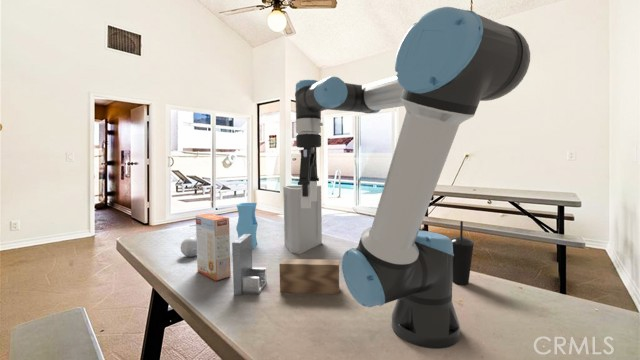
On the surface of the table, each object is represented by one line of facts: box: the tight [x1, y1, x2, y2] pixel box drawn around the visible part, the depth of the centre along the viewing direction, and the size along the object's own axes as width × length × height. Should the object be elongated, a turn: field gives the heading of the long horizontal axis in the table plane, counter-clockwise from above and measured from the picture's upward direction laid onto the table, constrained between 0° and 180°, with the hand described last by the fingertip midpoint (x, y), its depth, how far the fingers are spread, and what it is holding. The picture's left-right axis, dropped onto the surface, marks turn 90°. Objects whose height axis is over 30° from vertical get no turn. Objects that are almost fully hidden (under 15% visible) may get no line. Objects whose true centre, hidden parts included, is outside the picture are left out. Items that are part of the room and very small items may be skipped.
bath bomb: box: [180, 237, 197, 258], centre depth 124 cm, size 8×8×8 cm
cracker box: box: [195, 213, 232, 282], centre depth 103 cm, size 14×6×21 cm, turn 47°
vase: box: [236, 202, 258, 249], centre depth 137 cm, size 8×8×20 cm
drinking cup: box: [449, 220, 476, 286], centre depth 94 cm, size 8×8×20 cm
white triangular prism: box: [282, 184, 323, 255], centre depth 136 cm, size 19×15×28 cm
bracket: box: [231, 234, 268, 296], centre depth 91 cm, size 10×7×16 cm
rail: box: [279, 258, 340, 295], centre depth 90 cm, size 18×4×9 cm, turn 85°
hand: (309, 204), depth 89 cm, fingers open, 13 cm apart
